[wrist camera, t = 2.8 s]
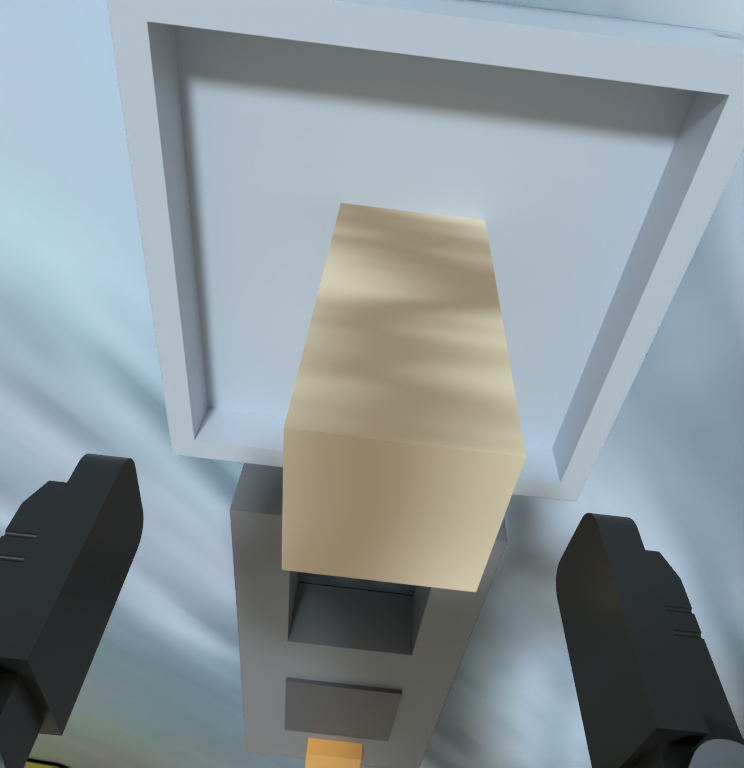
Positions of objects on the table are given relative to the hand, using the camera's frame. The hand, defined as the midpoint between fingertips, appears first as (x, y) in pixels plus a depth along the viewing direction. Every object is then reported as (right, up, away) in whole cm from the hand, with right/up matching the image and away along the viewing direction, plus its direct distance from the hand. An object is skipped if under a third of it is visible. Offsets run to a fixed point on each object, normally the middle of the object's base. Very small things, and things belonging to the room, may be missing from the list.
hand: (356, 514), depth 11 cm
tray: (+1, +6, +8) cm, 10 cm away
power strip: (-1, -9, +21) cm, 23 cm away
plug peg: (+1, +6, +7) cm, 9 cm away
